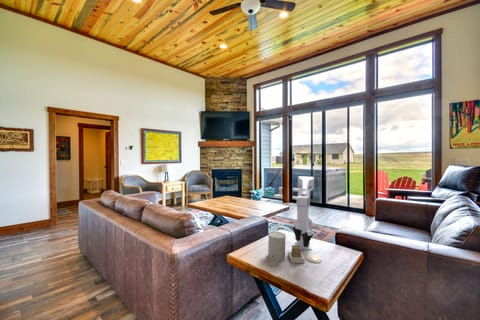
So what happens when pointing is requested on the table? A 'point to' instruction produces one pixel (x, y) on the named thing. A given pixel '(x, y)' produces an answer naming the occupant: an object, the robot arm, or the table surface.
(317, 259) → the coaster
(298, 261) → the pocket
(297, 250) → the walnut block
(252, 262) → the table surface
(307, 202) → the robot arm
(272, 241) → the grey cylinder
